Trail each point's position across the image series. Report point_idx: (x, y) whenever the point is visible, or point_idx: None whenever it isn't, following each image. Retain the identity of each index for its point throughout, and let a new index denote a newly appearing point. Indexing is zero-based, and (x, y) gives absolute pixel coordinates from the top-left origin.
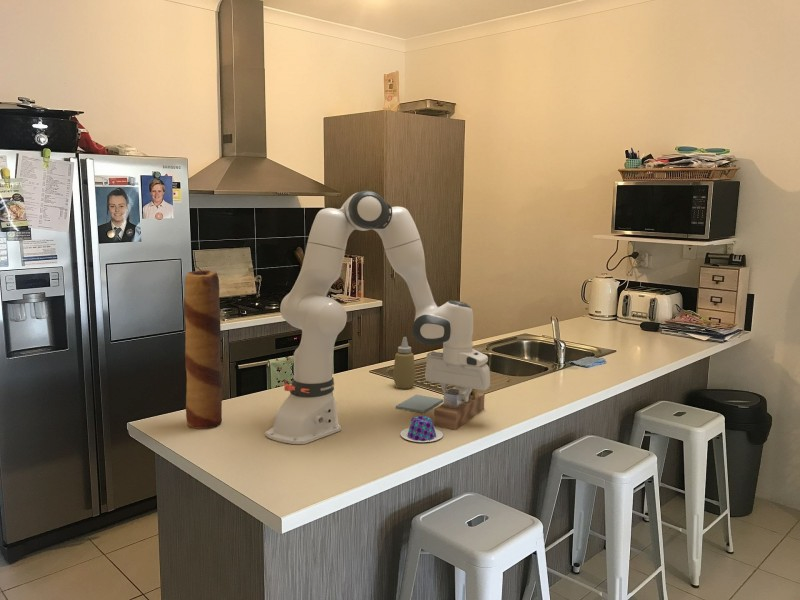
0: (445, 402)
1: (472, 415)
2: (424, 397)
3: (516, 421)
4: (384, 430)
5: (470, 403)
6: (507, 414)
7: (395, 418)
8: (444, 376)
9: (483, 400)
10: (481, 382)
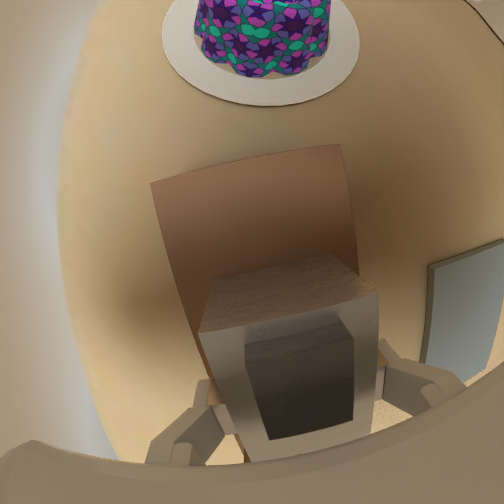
0: (323, 266)
1: None
2: (465, 373)
3: (105, 414)
4: (402, 13)
5: None
6: None
7: (465, 140)
8: (488, 459)
9: None
10: (9, 483)
